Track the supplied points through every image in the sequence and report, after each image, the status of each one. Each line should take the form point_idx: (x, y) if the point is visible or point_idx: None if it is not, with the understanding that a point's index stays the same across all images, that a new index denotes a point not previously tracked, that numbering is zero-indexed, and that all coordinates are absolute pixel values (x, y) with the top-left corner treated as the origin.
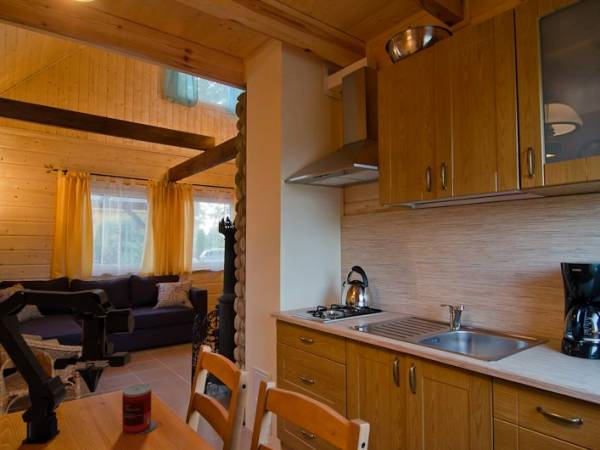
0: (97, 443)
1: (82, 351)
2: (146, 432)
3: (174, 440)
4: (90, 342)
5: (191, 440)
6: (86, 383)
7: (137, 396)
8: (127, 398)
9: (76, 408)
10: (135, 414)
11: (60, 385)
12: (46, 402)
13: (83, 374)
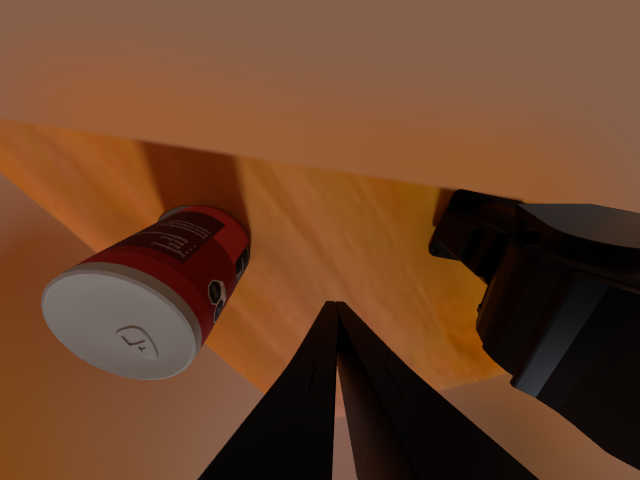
0: (294, 170)
1: None
2: (168, 211)
3: (50, 151)
4: None
5: None
6: (377, 341)
7: (79, 265)
8: (143, 263)
9: (421, 360)
10: (155, 225)
11: (556, 378)
12: (585, 236)
13: (445, 439)
